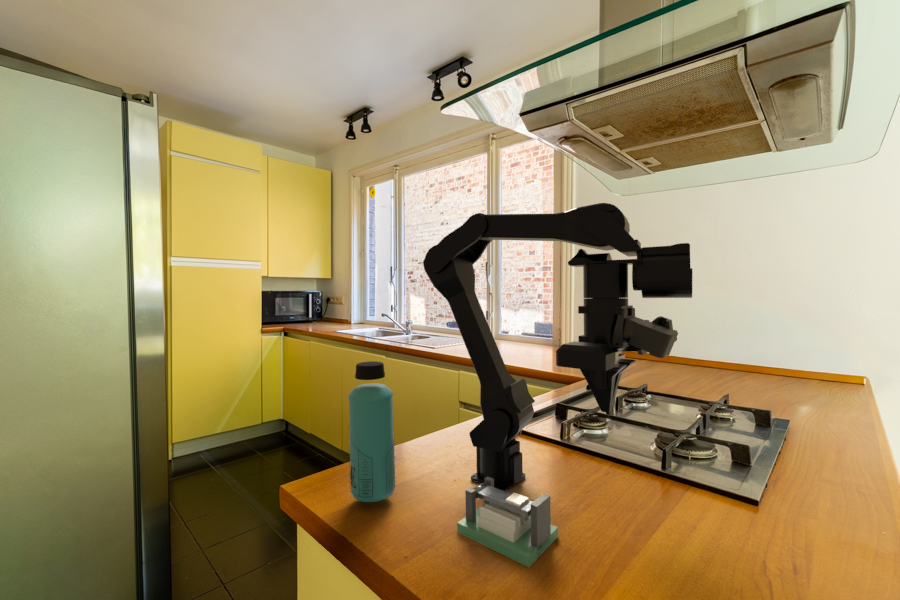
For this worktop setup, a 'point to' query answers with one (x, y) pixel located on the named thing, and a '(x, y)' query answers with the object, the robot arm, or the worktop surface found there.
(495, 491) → the strap
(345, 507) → the worktop surface
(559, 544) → the worktop surface
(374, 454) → the beverage bottle
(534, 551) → the board
